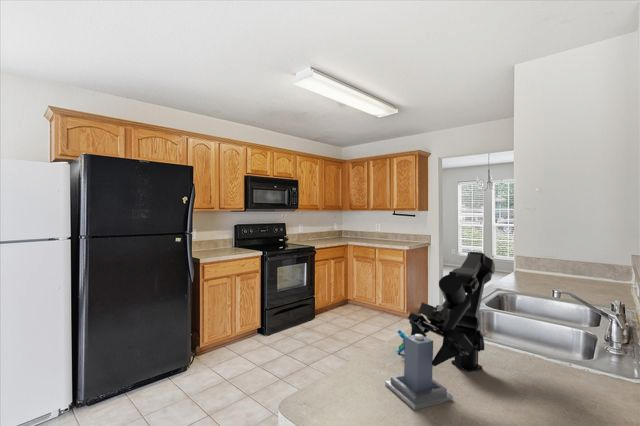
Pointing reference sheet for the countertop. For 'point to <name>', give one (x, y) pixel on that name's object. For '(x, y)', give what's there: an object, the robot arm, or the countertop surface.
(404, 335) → the gear
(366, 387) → the countertop surface
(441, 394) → the grey square tray
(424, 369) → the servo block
